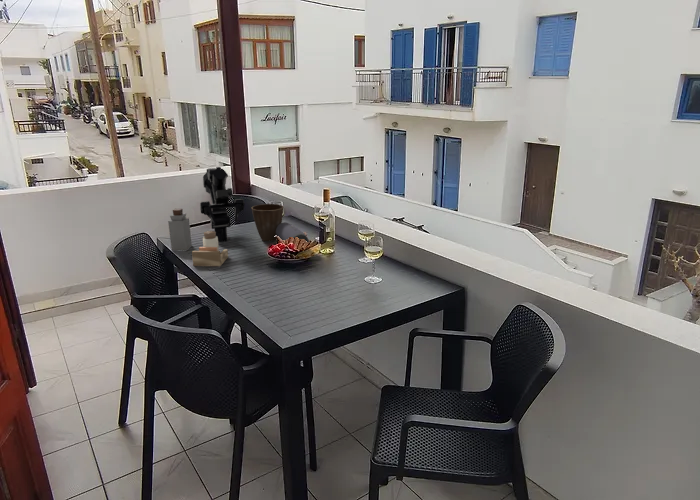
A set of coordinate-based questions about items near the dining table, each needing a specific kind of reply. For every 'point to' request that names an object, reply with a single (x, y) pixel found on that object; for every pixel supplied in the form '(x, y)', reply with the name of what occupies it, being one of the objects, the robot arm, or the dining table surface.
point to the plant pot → (267, 220)
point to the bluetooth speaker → (289, 232)
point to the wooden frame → (209, 258)
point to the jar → (210, 239)
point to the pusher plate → (208, 249)
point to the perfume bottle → (179, 231)
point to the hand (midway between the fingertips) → (225, 222)
